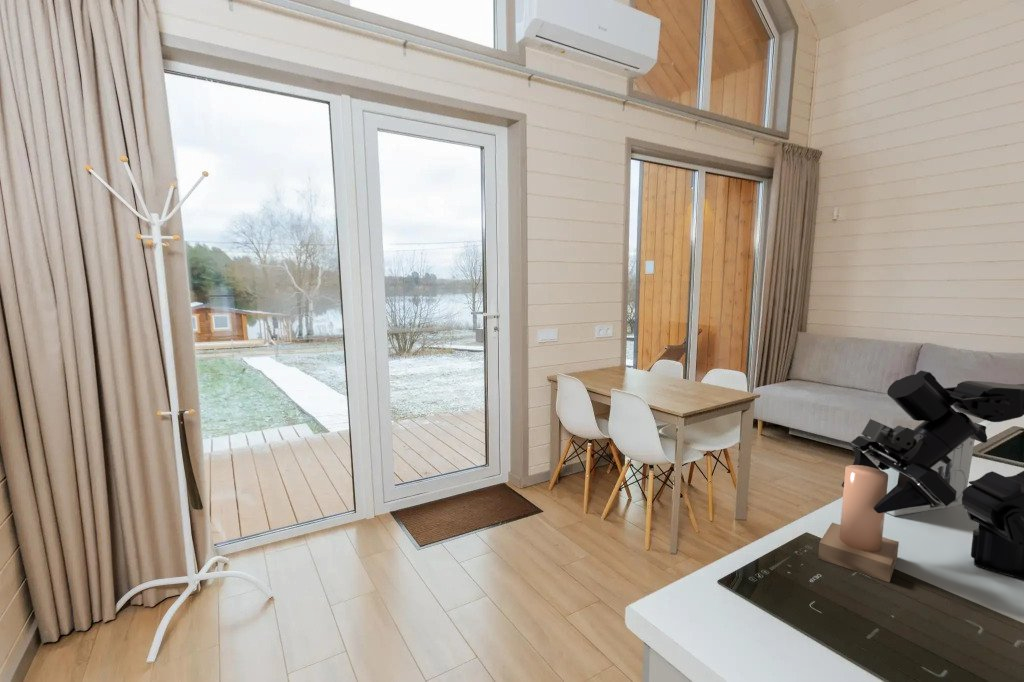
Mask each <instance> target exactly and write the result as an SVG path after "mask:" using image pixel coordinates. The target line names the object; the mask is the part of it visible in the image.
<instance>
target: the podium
mask: <svg viewBox="0 0 1024 682" xmlns="http://www.w3.org/2000/svg"><path fill="white" fill-rule="evenodd" d="M839 536H840V524H839V523H836V522H835V523H834V522H831V524H830V525H829V526H828V528H827V530H826V531H825V533H824V534H823V536H822V538H821V539H820V540H819V544H818V557H817V558H818V560H819V559H820V560H822V561H825V562H828V563H831V564H833V565H837V566H839V567H842V568H846V569H849V570H851V571H853V572H858V573H860V574H863V575H866V576H869V577H873V578H875V579H878V580H880V581H884V582H886V583H890V582H891V579H892V576H893V573H894V570H895V566H896V564H897V561H898V560H897V559H898V555H899V545H900V544H899V542H900V541H898V540H894V539H890V538H887V537H884V536H882V546H881V550H879V551H875V552H870V551H863V550H859V549H856V548H853V547H851V546H849V545H847V544H845V543H844V542H842V541H841V540H840V538H839Z"/></svg>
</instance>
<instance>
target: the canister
mask: <svg viewBox="0 0 1024 682" xmlns="http://www.w3.org/2000/svg"><path fill="white" fill-rule="evenodd" d="M843 482H844V488H843V493H842V502H841V503H842V504H841V513H840V514H841V516H840V517H841V518H840V524H839V525H840V536H839V538H840V540H841V541H842V542H844V543H845V544H847V545H849V546H851V547H853V548H856V549H859V550H863V551H870V552H875V551H879V550H881V546H882V537H884V536H883V535H884V525H885V513H886V512H884V513H877V512H876V511H875V510H874V509H873V508H874V506H875V505H876V504H877V503H878V502H879V501H880V500H881V499H882V498H883V497H884V496H885V495H886V494H887V486H888V474H887V473H885V472H884V471H881V470H879V469H876V468H872V467H868V466H861V465H853V464H851V465H846V466H845V471H844V480H843Z"/></svg>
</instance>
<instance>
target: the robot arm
mask: <svg viewBox="0 0 1024 682" xmlns="http://www.w3.org/2000/svg"><path fill="white" fill-rule="evenodd" d="M887 396H888V397H889V398H890V399H891V400H893V401H894V402H895V403H896V405H897V406H898V407H900V409H902V411H904V412H905V413H906V415H908V417H909V418H910V419H912V420H913V421H917V422H919V421H921V423H920V424H918V425H917V426H915V428H913V429H911V428H909V427H904V426H902V425H896V426H895V427H894V428H892V427H890V426H888V425H886V424H883V423H881V422H879V421H876V420H874V419H872V418H870V419H869V420H868V422H867V424H866V425H865V427H864V429H863V430H862V432H861V435H858V436H857V437H855V438H854V439H853V440H852V441H850V443H851V445H852V448H851V449H852V451H853V453H854V461H853V464H852V465H861V466H868V467H872V468H876V469H879V468H880V469H881V470H886V469H889V468H892V469H894V470H896V471H898V472H899V477H898V483H897V485H896V486H895V487H894V488H893V489H892V490H891V491H890V492H889V493H888V494H886V495H885V496H884V497H883V498H882V499H881V500H880V501H879V502H878V503H877V504H876V505H875V506H874V508H873V509H874V510H875V511H876V512H877V513H884V512H885V513H887V512H889V511H894V510H899V509H905V508H911V507H918V506H926V505H933V506H937V505H938V504H937V503H936V502H938V503H940V504H941V505H943V506H945V507H947V506H948V505H949V504H951V503H952V502H953V501H954V500H956V493H957V491H956V490H955V489H954V488H953V487H952V486H951V485H950V484H949V483H948V482H947V481H946V480H945V479H944V478H943V477H942V476H941V475H940V474H939V473H938V472H937V471H935V470H933V469H931V468H932V467H933V466H934V465H935V464H937V463H938V462H939V461H941V462H943V463H945V464H947V463H949V462H950V461H951V459H950V458H949V457H948V456H947V455H948V454H949V453H951V452H952V451H953V450H954V449H956V448H957V447H958V446H960V445H961V444H962V443H963V442H965V441H966V440H967V439H969V438H972V439H975V441H977V442H980V443H982V444H986V443H987V442H988V435H987V426H986V425H983V424H980V423H976V422H974V421H973V420H972V419H971V418H970V417H969V416H971V417H975V418H978V419H981V420H984V421H986V422H990V423H1001V422H1005V421H1006V422H1007V421H1010V420H1014V419H1019V418H1022V417H1023V416H1024V383H1019V384H1013V383H1012V384H1011V383H1002V382H994V381H983V380H982V381H980V380H979V381H978V380H965V381H962V382H959V383H957V385H956V386H950V387H944V386H942V385H941V384H940V383H939V382H938V380H937V379H936V377H935V376H934V375H933V373H931V372H930V371H926V370H919V371H918V372H916V373H915V374H910V375H908V376H905V377H902V378H899V379H896V380H895V381H893V383H891V384H890V385H889V387H888V389H887ZM952 406H953V407H954V408H953V407H952ZM968 415H969V416H968ZM886 450H887V451H888V452H887V451H886ZM894 463H895V464H896V465H895V464H894ZM904 468H905V469H904ZM880 469H879V470H880ZM968 484H970V485H967V488H966V489H964V491H963V492H962V494H963V496H962V504H963V505H962V507H963V509H964V510H965V511H966V512H967V516H968V519H969V520H970V521H972V522H975V523H977V524H978V528H977V529H975V530H973V532H972V539H971V548H970V549H971V550H970V557H971V558H972V559H973V565H974V566H976V567H978V568H981V569H986V570H989V571H992V572H995V573H999V574H1002V575H1005V576H1009V577H1013V578H1016V579H1020V580H1022V581H1024V470H1023V471H1020V472H1018V473H1016V474H1015V475H1012V476H1004V475H1002V474H999V473H997V472H996V471H992V470H991V471H989V472H986V473H985V474H983V475H982V476H981V477H979V478H977V479H975V480H970V481H968ZM841 487H842V488H843V489H844V481H843V482H842V484H841ZM935 501H936V502H935ZM947 508H948V507H947Z"/></svg>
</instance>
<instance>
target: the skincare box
mask: <svg viewBox="0 0 1024 682" xmlns="http://www.w3.org/2000/svg"><path fill="white" fill-rule="evenodd" d="M975 441H976V440H975V439H972V438H969V439H967V440H966V441H965V442H963V443H962V444H961V445H960V446H958V447H957V448H956V449H954V450H953V451H952V452H951V453H949V454H948V455H947V456H948V457H949V458H950V459H951V461H950V462H949V463H947V464H945V463H943V462H941V461H939V462H938V463H937V464H935V465H934V466H933V467H932V468H931V469H933V470H935V471H937V472H938V473H939V474H940V475H941V476H942V477H943V478H944V479H945V480H946V481H947V482H948V483H949V484H950V485H951V486H952V487H953V488H954V489H955V490H956V491H957V493H956V500H954V501H953V502H952V503H951V504H949V505H948V506H947V507H945V506H943V505H941V504H940V503H938V502H936V501H935V502H936V503H937V504H938V505H937V506H933V505H926V506H918V507H911V508H905V509H899V510H894V511H889V512H886V513H887V514H889V515H891V516H893V517H896V516H903V515H909V514H910V515H911V514H915V513H921V512H927V511H928V510H929V511H934V510H939V509H941V510H942V509H946V508H953V507H958V506H963V504H962V496H963V494H962V492H963V491H964V489H966V488H967V487H968V486H969V485H968V484H969V479H970V473H971V472H970V471H971V465H972V459H973V452H974V447H975ZM886 451H887V450H886ZM887 452H888V451H887ZM894 464H895V463H894ZM895 465H896V464H895ZM879 469H880V468H879ZM904 469H905V468H904ZM880 470H881V469H880ZM881 471H884V472H885V473H887V474H888V486H887V494H888V493H889V492H890V491H891V490H892V489H893V488H894V487H895V486H896V485H897V483H898V477H899V472H898V471H896V470H894V469H892V468H889V469H886V470H881Z"/></svg>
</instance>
